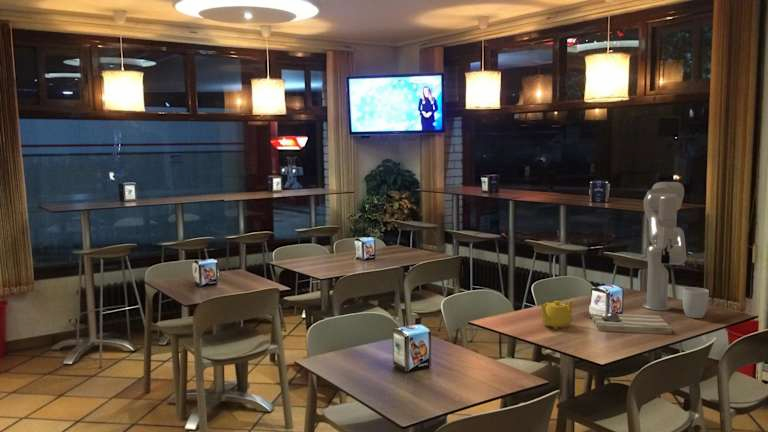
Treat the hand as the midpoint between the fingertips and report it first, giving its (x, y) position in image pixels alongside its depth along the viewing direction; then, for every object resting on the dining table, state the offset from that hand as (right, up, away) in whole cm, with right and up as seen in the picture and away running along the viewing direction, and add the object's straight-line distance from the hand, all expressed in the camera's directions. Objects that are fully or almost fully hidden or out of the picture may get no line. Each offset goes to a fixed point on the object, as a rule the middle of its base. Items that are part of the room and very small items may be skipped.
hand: (665, 263), depth 295 cm
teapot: (-51, -28, -3) cm, 58 cm away
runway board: (-17, -28, -3) cm, 33 cm away
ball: (-25, -25, -3) cm, 35 cm away
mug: (+20, -26, +12) cm, 35 cm away
